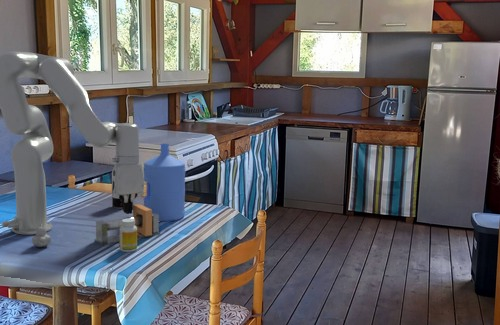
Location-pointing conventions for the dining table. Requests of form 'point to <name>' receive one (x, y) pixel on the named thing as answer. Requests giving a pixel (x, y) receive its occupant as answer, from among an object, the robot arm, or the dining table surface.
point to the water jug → (165, 185)
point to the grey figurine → (41, 237)
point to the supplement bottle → (128, 235)
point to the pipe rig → (105, 226)
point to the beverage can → (117, 202)
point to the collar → (144, 219)
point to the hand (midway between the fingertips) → (127, 212)
